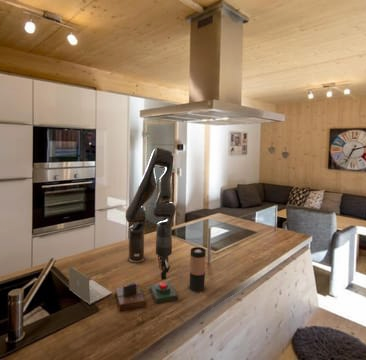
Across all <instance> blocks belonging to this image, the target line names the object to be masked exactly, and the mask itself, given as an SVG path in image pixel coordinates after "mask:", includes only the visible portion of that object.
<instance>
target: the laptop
mask: <svg viewBox="0 0 366 360" xmlns="http://www.w3.org/2000/svg"><path fill="white" fill-rule="evenodd" d="M68 287H69V288H68V289H69V291H70V292H72V293H73V294H75V295H76V296H77V297H79V298H80V299H81V300H83V302H85V303H87V304H88V305H92V304H95V303H96V302H98V301H100V300H102V299H104V298H106V297H108V296H110V295H112V294H113V292H112V291H111V290H109V289H107V288H105V286H103V285H101V284H100V283H98V282H96V281H95V280H93V279H90V277H88V276H87V275H86V274H83V273H82V272H81V271H79V270H77V269H76V268H74V267H73V266H71V265H68Z"/></svg>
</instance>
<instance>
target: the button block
mask: <svg viewBox="0 0 366 360" xmlns="http://www.w3.org/2000/svg"><path fill="white" fill-rule="evenodd" d="M166 283H167V288H166V289H160V283H157V284H151V285H149V290H150V292H151V295H152V297H153V299H154V301H155V304H160V303H165V302H166V303H167V302H170V301H171V302H172V301H177V300H178V294H177V293H176V291H175V289H174V287H173V286H172V284H171V282H166Z"/></svg>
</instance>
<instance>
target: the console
mask: <svg viewBox="0 0 366 360" xmlns="http://www.w3.org/2000/svg"><path fill="white" fill-rule="evenodd" d="M115 295H116V300H117V305H118V309H119V312H121V311H122V312H123V311H128V310H133V309H138V308H144V307H145V306H146V299H145V297H144V295H143V292H142V290H141V287H140V284H137V293H135V294H131V295H128V296H125V297H124V295H123V286H122V287H115Z"/></svg>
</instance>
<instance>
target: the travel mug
mask: <svg viewBox="0 0 366 360" xmlns="http://www.w3.org/2000/svg"><path fill="white" fill-rule="evenodd" d="M206 252H207V250H206V249H205V248H204V247H201V246H197V247H191V249H190V257H189V288H190V290H191V291H193V292H202V291H204V290H205V280H206V258H207V255H206V254H207V253H206Z"/></svg>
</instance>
